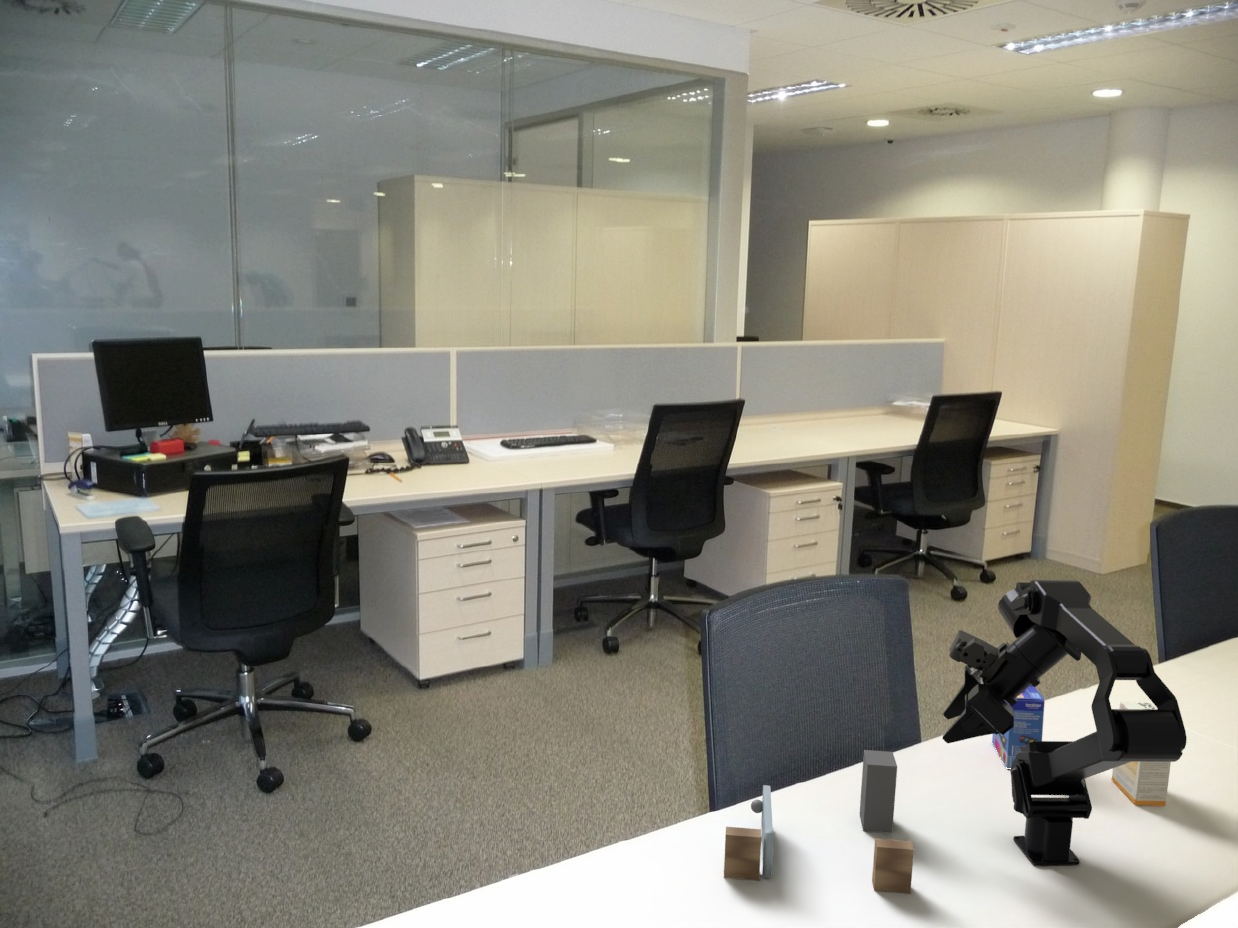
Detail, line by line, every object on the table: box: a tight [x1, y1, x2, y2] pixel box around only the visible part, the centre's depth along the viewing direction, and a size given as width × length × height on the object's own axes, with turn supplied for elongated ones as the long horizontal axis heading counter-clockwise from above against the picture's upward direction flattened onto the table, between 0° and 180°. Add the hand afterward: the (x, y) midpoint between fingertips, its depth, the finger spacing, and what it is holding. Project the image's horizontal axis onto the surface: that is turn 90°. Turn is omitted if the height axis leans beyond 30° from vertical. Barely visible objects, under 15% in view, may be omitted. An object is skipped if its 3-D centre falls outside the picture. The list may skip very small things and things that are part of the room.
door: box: [750, 784, 775, 878], centre depth 139 cm, size 14×3×6 cm, turn 173°
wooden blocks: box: [723, 826, 915, 894], centre depth 132 cm, size 23×2×6 cm, turn 83°
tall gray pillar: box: [859, 749, 898, 834], centre depth 146 cm, size 4×4×10 cm
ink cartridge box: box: [991, 685, 1046, 768], centre depth 167 cm, size 10×6×14 cm, turn 174°
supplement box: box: [1111, 701, 1172, 807], centre depth 156 cm, size 8×5×13 cm, turn 179°
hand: (945, 728), depth 147 cm, fingers open, 9 cm apart
